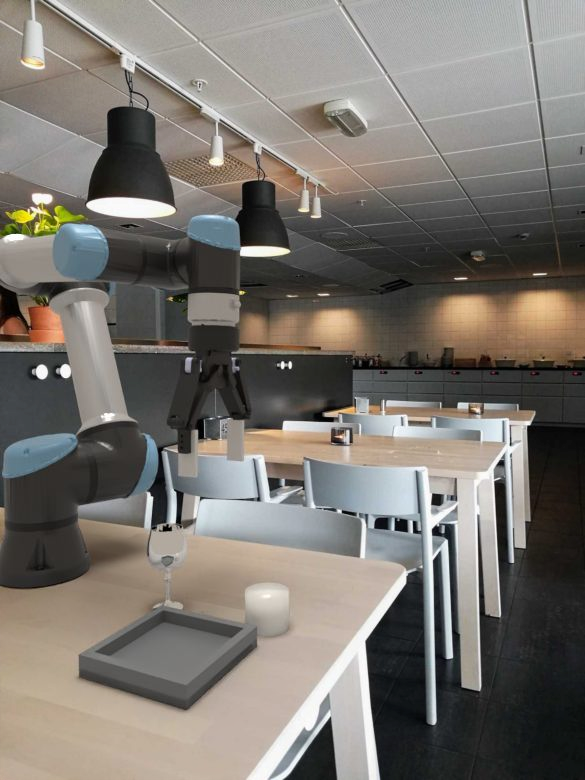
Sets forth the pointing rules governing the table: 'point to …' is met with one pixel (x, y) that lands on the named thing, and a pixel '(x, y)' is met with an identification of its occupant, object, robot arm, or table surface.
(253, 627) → the tray
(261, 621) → the white pillar candle
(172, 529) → the wineglass
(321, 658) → the table surface
